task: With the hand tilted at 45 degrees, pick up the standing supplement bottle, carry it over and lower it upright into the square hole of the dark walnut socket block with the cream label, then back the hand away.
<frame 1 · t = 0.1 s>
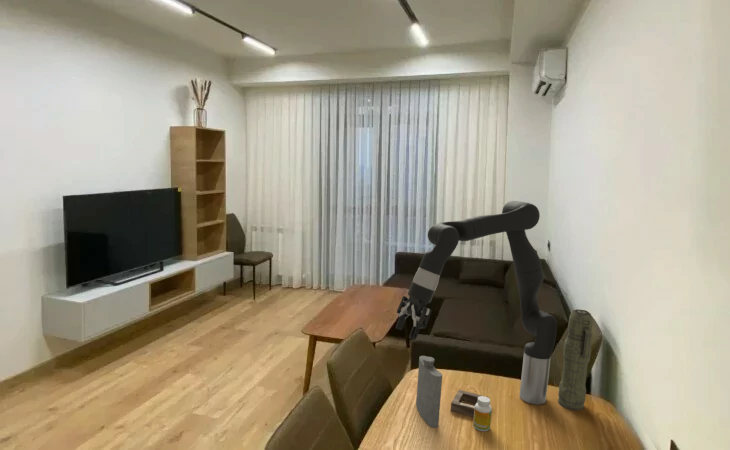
hand: (404, 333, 144), 31 cm above the table, tool tilted 20°, fingers open, 8 cm apart
olive fabric bag: (570, 404, 169), on the table
supplement bottle: (481, 427, 151), on the table
hip flask: (425, 415, 157), on the table
socket block: (469, 408, 163), on the table
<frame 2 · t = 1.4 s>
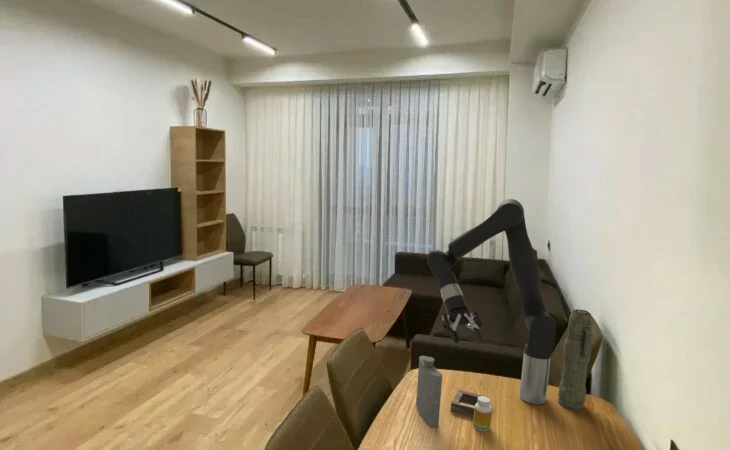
hand: (468, 341, 158), 25 cm above the table, tool tilted 45°, fingers open, 8 cm apart
nothing on the table moved.
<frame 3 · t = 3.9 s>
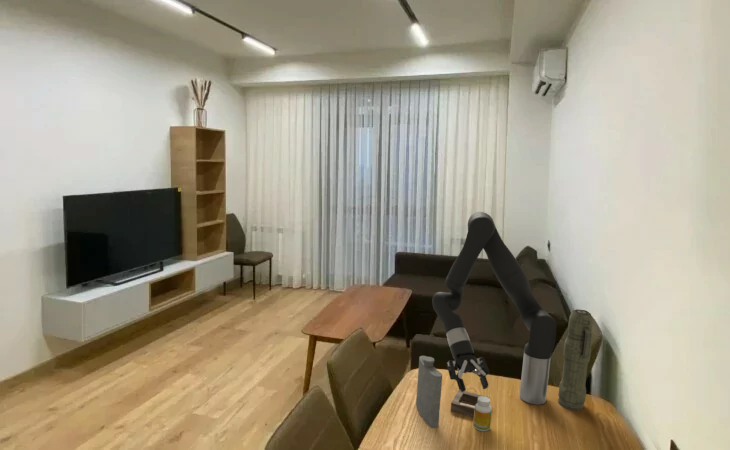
hand: (474, 389, 155), 10 cm above the table, tool tilted 45°, fingers open, 8 cm apart
nothing on the table moved.
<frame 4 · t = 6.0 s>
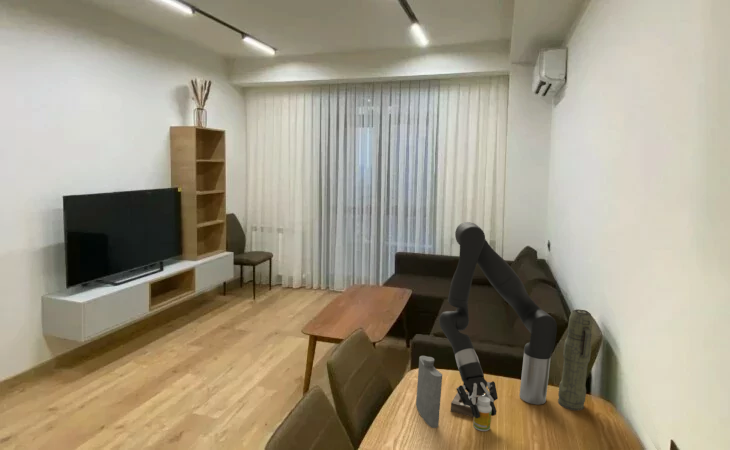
hand: (486, 416, 149), 5 cm above the table, tool tilted 45°, fingers closed on supplement bottle, 5 cm apart
supplement bottle: (481, 427, 151), on the table, touching gripper
everything else where it was.
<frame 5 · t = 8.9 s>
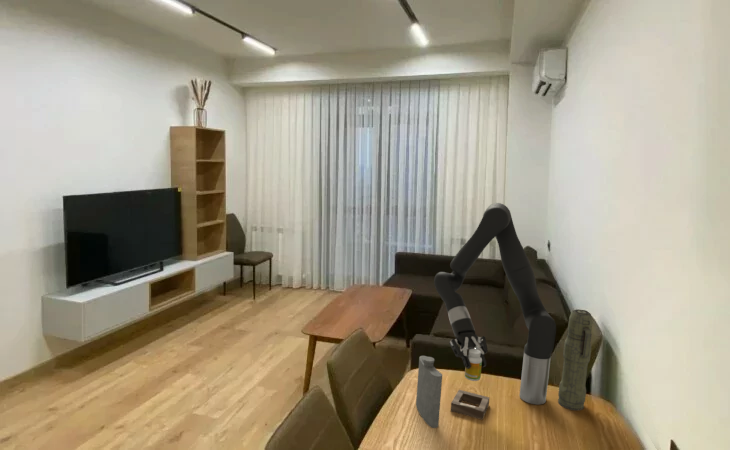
hand: (476, 367, 159), 16 cm above the table, tool tilted 45°, fingers closed on supplement bottle, 5 cm apart
supplement bottle: (472, 378, 161), point 11 cm above the table, touching gripper
everything else where it was.
when the fingers open (6 cm above the table, at t = 11.6 s): supplement bottle drops 1 cm, resting in socket block.
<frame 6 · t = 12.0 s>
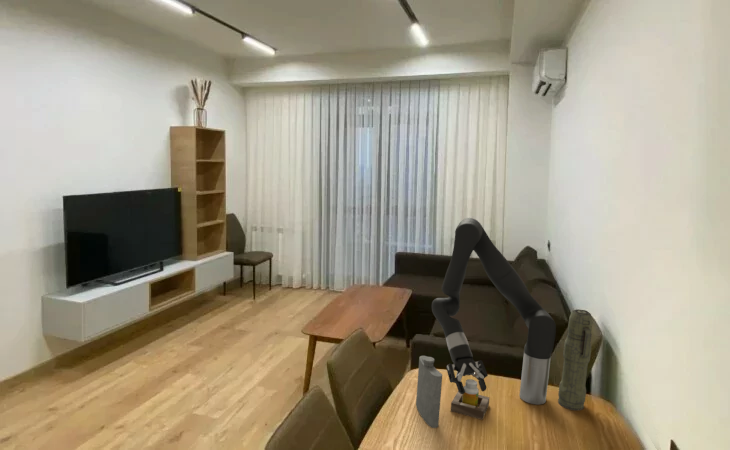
hand: (473, 392, 160), 7 cm above the table, tool tilted 45°, fingers open, 8 cm apart
supplement bottle: (469, 408, 163), resting in socket block
everything else where it was.
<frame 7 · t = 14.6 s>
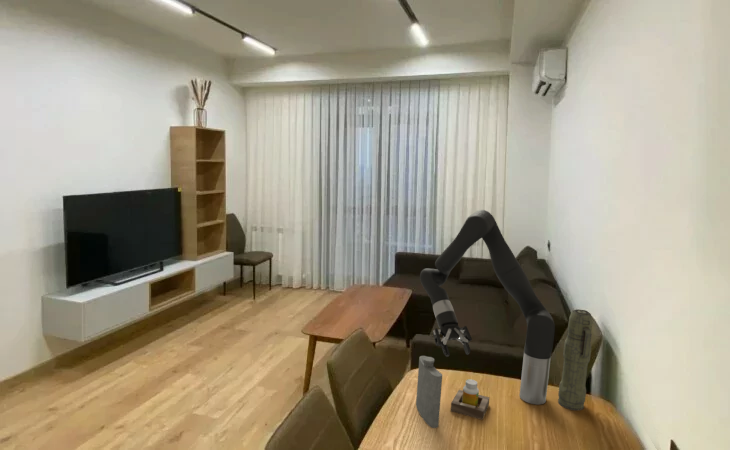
hand: (458, 354, 170), 15 cm above the table, tool tilted 45°, fingers open, 8 cm apart
nothing on the table moved.
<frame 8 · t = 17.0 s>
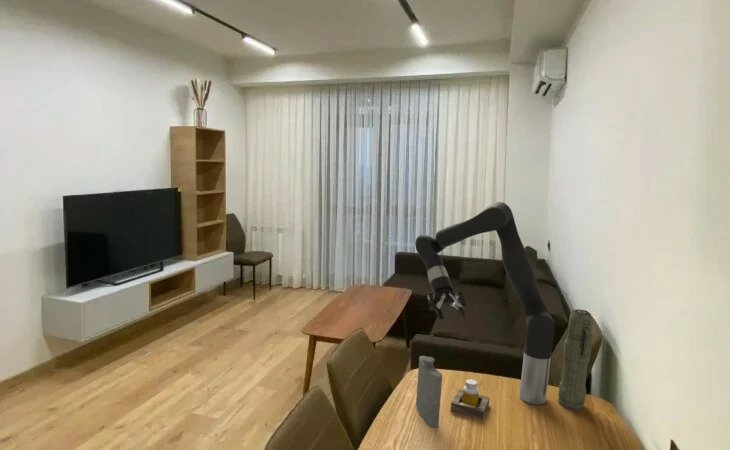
hand: (452, 319, 168), 29 cm above the table, tool tilted 45°, fingers open, 8 cm apart
nothing on the table moved.
at the end: supplement bottle 0.2 cm off-centre on the socket block, point 0.0 cm above the socket block's base; supplement bottle tilted 0°; the gripper is holding nothing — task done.
